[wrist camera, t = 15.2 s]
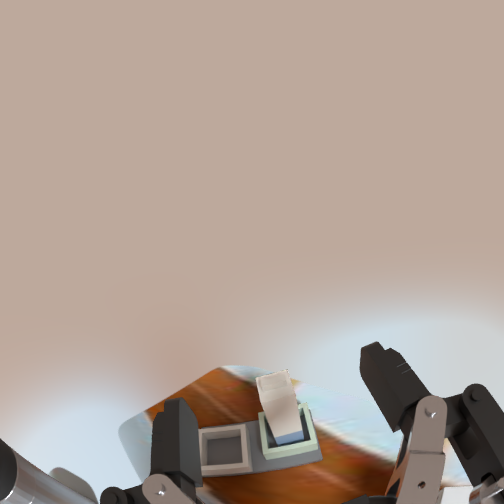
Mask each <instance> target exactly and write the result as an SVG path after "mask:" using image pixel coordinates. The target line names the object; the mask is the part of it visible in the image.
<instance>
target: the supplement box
mask: <svg viewBox="0 0 504 504" xmlns="http://www.w3.org/2000/svg"><path fill="white" fill-rule="evenodd" d="M472 490H473V486H472V485H469V486H456V487H444V488H443V489H442V490H440V491H439V493H438V497H437V500H436V504H469V496H470V493H471V491H472Z"/></svg>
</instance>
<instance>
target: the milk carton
mask: <svg viewBox="0 0 504 504" xmlns="http://www.w3.org/2000/svg"><path fill="white" fill-rule="evenodd" d="M256 383H257V388H258V392H259V397H260V401H261V405H262V407H263V410H264V412H265V415H266V418H267V420H268V423H269V425H270V428H271V430H272V433H273V435H274V438H275V440H276V443H277V445H278V447H281V446H286V445H291V444H296V443H301V442H305V441H304V436H303V431H302V425H301V420H300V415H299V410H298V405H297V399H296V394H295V391H294V388H293V385H292V382H291V379H290V376H289V373H288V371H287V369H286V370H283V371H280V372H276V373H272V374H268V375H264V376H260V377H256Z"/></svg>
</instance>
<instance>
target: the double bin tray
mask: <svg viewBox="0 0 504 504" xmlns="http://www.w3.org/2000/svg"><path fill="white" fill-rule="evenodd" d="M298 410H299V415H300V420H301V425H302V431H303V436H304V441H305V442H301V443H296V444H291V445H286V446H281V447H278V445H277V443H276V440H275V438H274V435H273V433H272V430H271V428H270V425H269V423H268V420H267V418H266V415H265V412H259V413H258V416H259V420H256V421H250V422H244V423H237V424H229V425H221V426H211V427H202V429H198V431H199V446H200V459H201V471H202V477H221V476H234V475H244V474H253V473H260V472H267V471H274V470H280V469H285V468H290V467H295V466H300V465H305V464H309V463H313V462H317V461H321V460H323V458H322V454H321V450H320V446H319V442H318V439H317V435H316V431H315V427H314V423H313V419H312V416H311V412H310V409H308V405H307V402H306V403H302V404H298Z"/></svg>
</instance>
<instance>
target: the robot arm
mask: <svg viewBox="0 0 504 504" xmlns="http://www.w3.org/2000/svg"><path fill="white" fill-rule="evenodd" d="M360 373H361V377H362V379H363V381H364V382H365V384H366V386H367V388H368V389H369V391H370V392H371V395H372V396H373V398H374V400H375V401H376V403H377V405H378V407H379V408H380V410H381V412H382V414H383V415H384V417H385V419H386V420H387V422H388V424H389V426H390V427H391V429H392V431H393V433H394V432H396V431H398V430H400V429H401V431H402V433H403V437H402V441H401V445H400V449H399V453H398V457H397V461H396V465H395V468H394V471H393V474H392V476H391V478H390V481H389V483H388V486H387V489H386V492H385V495H384V496H370V497H367V495H366V494H365V495H362V496H360V497H358V498H355V499H352V500H350V501H347V502H345V503H342V504H436V500H437V497H438V493H439V488H440V484H441V480H442V475H443V470H444V464H445V453H443V444H444V438H448V440H449V442H450V443H451V445H452V447H453V449H454V451H455V453H456V454H457V456H458V458H459V460H460V462H461V464H462V466H463V468H464V470H465V472H466V474H467V476H468V478H469V480H470V482H471V484H472V486H473V490H472V491H471V493H470V496H469V504H504V412H503V411H502V410H501V408H500V407H499V405H498V404H497V402H496V401H495V400H494V398H493V397H492V396H491V394H490V393H489V392H488V390H487V389H486V387H484V386H483V385H481V384H471V385H470V386H468V387H467V388H466V389H465V390H464V392H463V393H462V394H459V395H455V396H451V397H448V398H440V397H438V396H434V395H432V394H431V393H430V392H429V391H428V390H427V389H426V387H425V386H424V384H423V383H422V382H421V380H420V379H419V378H418V376H417V375H416V374H415V372H414V371H413V370H412V369H411V367H410V366H409V365H408V363H406V361H405V359H404V358H403V357H402V355H401V354H400V353H398V352H397V351H395V350H393V349H392V348H389V349H387V350H384V348H383V347H382V346H381V345H380V343H379V342H374V343H372V344H369V345H367V346H364V347H362V348H361V358H360ZM152 433H153V434H152V447H151V471H150V475H149V477H148V478H146V479H145V481H144V482H143V484H141V485H139V486H136V487H133V488H129V489H125V490H122V489H119V488H117V487H109V488H107V489H105V490H104V491H103V492H102V494H101V497H100V504H205V503H204V502H203V501H202V500H201V499H200V498H198V497H197V496H196V490H195V487H203V482H202V471H201V459H200V446H199V431H198V422H197V419H196V416H195V414H194V413H193V411H192V410H191V409H190V407H189V406H188V404H187V403H186V402H185V400H184V399H183V398H182V397H181V398H175V399H168V400H165V403H164V412H158V413H157V415H156V417H155V419H154V421H153V429H152ZM0 504H96V503H95V502H93V501H92V500H90V499H88V498H86V497H84V496H82V495H81V494H79V493H77V492H75V491H74V490H72V489H70V488H68V487H67V486H65V485H63V484H62V483H60V482H58V481H57V480H55V479H54V478H52V477H50V476H49V475H47V474H46V473H44V472H43V471H41V470H40V469H39V468H37V467H36V466H34V465H33V464H31V463H30V462H29V461H27V460H26V459H25V458H23V457H22V456H21V455H19V454H18V453H17V452H16V451H14V450H13V449H12V448H11V447H9V446H8V445H7V444H6V443H5V442H4V441H2V440H1V439H0Z"/></svg>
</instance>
